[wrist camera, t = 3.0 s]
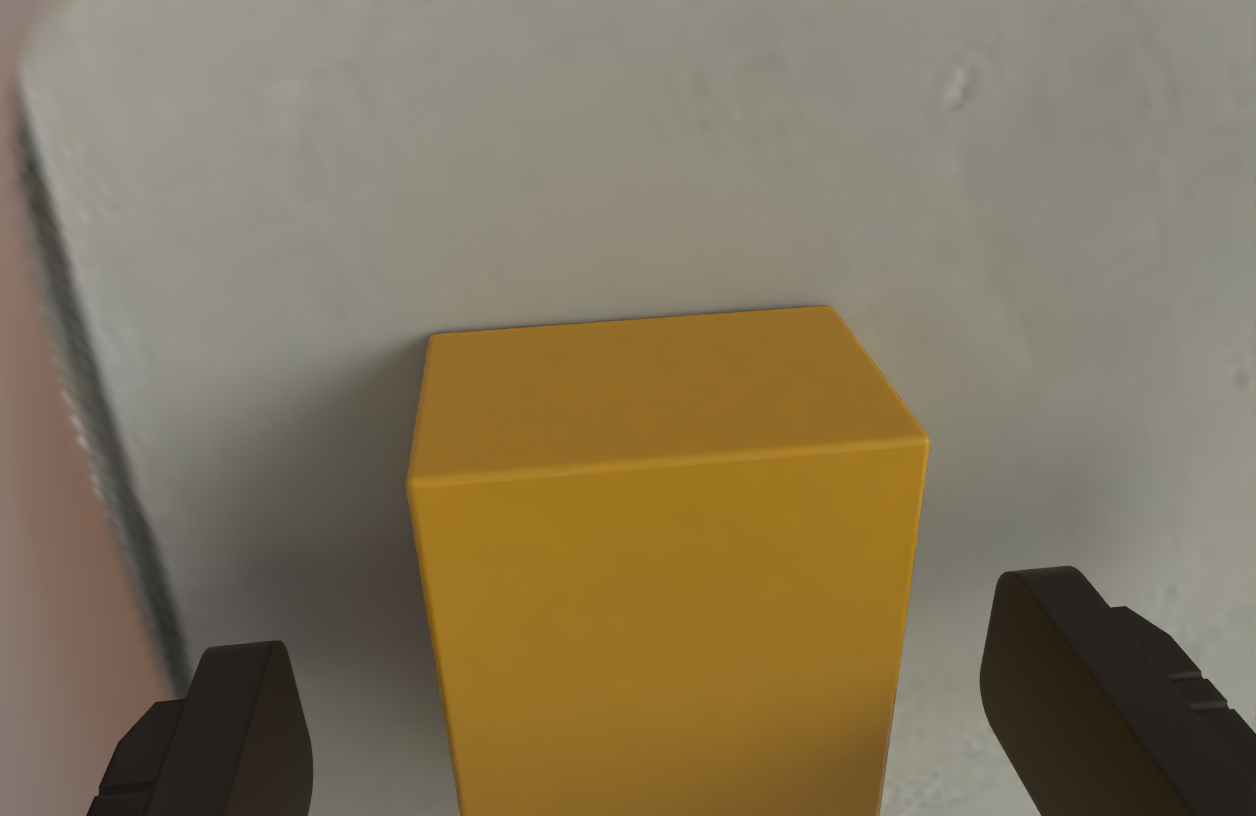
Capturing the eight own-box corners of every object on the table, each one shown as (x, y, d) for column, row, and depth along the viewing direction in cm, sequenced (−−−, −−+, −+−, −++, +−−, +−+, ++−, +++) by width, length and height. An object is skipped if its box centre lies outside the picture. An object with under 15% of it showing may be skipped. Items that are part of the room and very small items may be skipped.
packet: (427, 331, 11) (403, 482, 8) (833, 301, 11) (935, 437, 8) (490, 779, 14) (487, 987, 12) (799, 745, 14) (865, 940, 12)
